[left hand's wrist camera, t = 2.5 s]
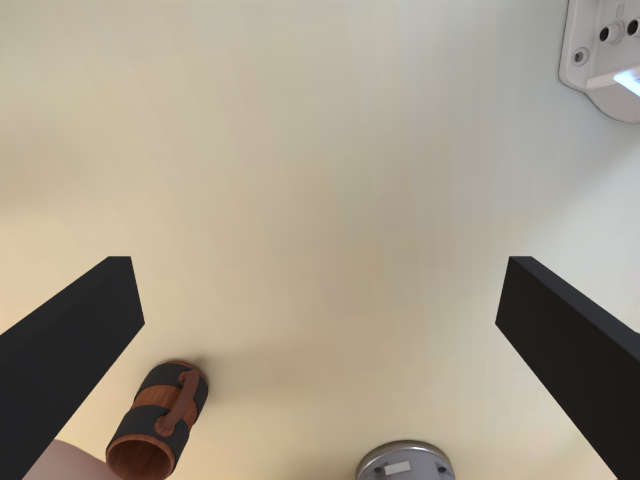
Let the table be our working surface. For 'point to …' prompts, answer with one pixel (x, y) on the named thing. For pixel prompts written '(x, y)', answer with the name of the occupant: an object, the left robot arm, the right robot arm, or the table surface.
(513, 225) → the table surface
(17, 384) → the left robot arm
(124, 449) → the mug
